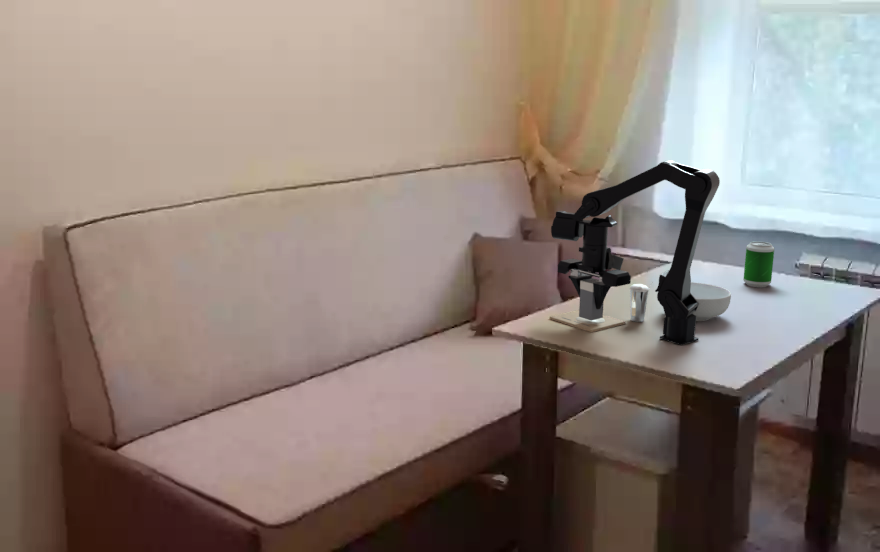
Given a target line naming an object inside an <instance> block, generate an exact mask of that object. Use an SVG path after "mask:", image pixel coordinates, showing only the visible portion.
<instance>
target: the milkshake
mask: <svg viewBox="0 0 880 552" xmlns="http://www.w3.org/2000/svg"><path fill="white" fill-rule="evenodd" d="M653 282H654V281H651V284H650V286H649V287H648V286H647V285H646V284H643V283H633V284H632V285H630V287H629V302H630V304H629V305H630V306H629V307H630V317H629V318H630V321H632V322H635V323H641V322H642V323H643V322H644V321H645V317H646V309H647V304H648V303H647V302H648V297H649V290H650V288H651V286H652V284H653Z"/></svg>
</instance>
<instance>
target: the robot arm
mask: <svg viewBox="0 0 880 552" xmlns="http://www.w3.org/2000/svg"><path fill="white" fill-rule="evenodd" d="M663 181H667V182H669V183H671V184H673V185H675V186H676V187H679V188H680V189H684V202H685V212H684V215H683V220H682V224H681V227H680V231H679V235H678V238H677V243H676V246H675V250H674V254H673V258H672V261H671V266H670V268H669V269H667V270H666V271H664V272H662V273H660V274H659V277H658V285H657V288H656V289H655V290H654V292H656V293H657V295H656V298H657V301H658V303H659V304H660V305H661V306H662V308H663V312H664V315H665V317H664V318H663V329H662V335H660V336H659V339H661V340H662V341H663V340H664V341H667V342H670V343H673V344H677V345H682V346H683V345H686V344H690V343H693V342H697V341H699V337H697V336H695V335H696V326H697V325H696V323H697V321H696V315H694V314H693V312H695V311H696V310H697V308H698V306H699V302H698V301H697V300H696V299H695V298H694V297H693V295H692V294H691V293H690V288H691V282H692V278H691V267H692V263H693V260H694V256H695V252H696V249H697V245H698V241H699V238H700V237H699V236H700V233H701V231H702V226H703V222H704V218H705V216H706V215H705V214H706V212H707V209H708V207H709V206H710V204H711V203H712V201H713V199H714V197H715V195H716V193H717V191H718V189H719V187H720V184H721V183H720V182H721V181H720V177H719V176H718V174H717V172H715V170H712V169H710V168H704V169H703V168H702V169H699V168H696V167H694V166H693V167H692V166H689V165H686V164H681V163H679V162H676V161H674V160H671V159H669V160H665V161H661V162H660V163H659V164H657V165H655V166H654V167H652V168H649V169H647V170H645V171H643V172H641V173H639V174H636V175H635V176H632V177H631V178H629V179H627V180H625V181H622V182H620V183H618V184H616V185H611V186H607V187H604V188H599V189H596V190H594V191H591V192H587V193H586V194H585V195H583V197H582V200H581V205H580V206H579V208H578V209H576V211H575V212H569V211H564V210H558V211H556V212H555V217H554V219H553V221H552V225H551V227H550V232H551V238H552V239H555V240H556V239H557V240H562V241H563V240H564V241H570V242H577V241H579V239H580V238H582V246H579V247H578V252H579V253H581V259H578V258H577V259H576V258H569V259H568V258H567V259H564V260H560V261H559V262H558V264H557V273H559V274H563V275H567V274H568V273H569V272H570V275H568V276H567V277H568V279H569V280H570V281H571V283H572V284H573V286H574V288H575V290H576V293H577V295H578V297H579V298H580V281H581V280H586V279H591V278H593V277H595V278H599V279H598V280H599V282H596V283H593V288H594V297H595V305H596V309H600V308H601V306H602V304H603V305H604V303H603V301H605V299H606V296H607V294H608V292H609V290H610V289H611V288H613V287H614V288H617V287H623V286H626V285H630V284H631V281H632V276H631V274H630V272H629V271H627V270H622V265H623V262H624V258H623V257H621V256H618V255H615V254H612V249H611V247H609V246H608V236H609V235H608V234H609V233H608V232H609V228H613V227H616V226H617V225H618V222H617V221H616V220H615V219H614V218H613V217H612V215H610V214H609V215H608V216H606V217H605V218H604V217H598V216H601V215H604V214H606V213H608V212H610V211H611V210H612V209H614V208H615V207H617V206H618V205H619V204H620V203H621V202H623V201H624V200H626V199H627V198H629V197H632V196H633V195H635V194H637V193H638V194H639V193H640V192H642V191H644V190H646V189H648V188H651V187H653V186H655V185H658V184H659V183H661V182H663ZM590 217H592V219H591V220H590V219H589V220H588V219H587V218H590Z"/></svg>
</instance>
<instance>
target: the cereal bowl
mask: <svg viewBox="0 0 880 552" xmlns="http://www.w3.org/2000/svg"><path fill="white" fill-rule="evenodd" d="M690 293H691V294H692V295H693V297H694V298H695V299H696V300H697V301H698V302H699V306H698V308H697V310H696V311H695V312H693V314H694V315H696V322H704V321H709V320H710V319H712V318H716V317H718V316H722V315H723V314H724V313H725V312H726V311H727V310H728V308H729V307H730V304H731V298H732V293H731V291H730V290H729V289H727V288H724V287H722V286H717V285H713V284H707V283H702V282H694V281H693V282H692V281H691V288H690Z"/></svg>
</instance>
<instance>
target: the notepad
mask: <svg viewBox="0 0 880 552" xmlns="http://www.w3.org/2000/svg"><path fill="white" fill-rule="evenodd" d="M549 319H550V320H552V321H555V322H558V323H562V324H564V325H568V326H571V327H573V328H576V329H579V330H583V331H585V332H589V333H595V332H598V331H601V330H602V331H603V330H606V329H610V328H611V329H612V328H614V327H618V326H621V325H622V326H623V325H626V321H625V320H622V319H619V318H615V317H612V316H609V315H605V314H603V318H600V319H596V320H588V319H585V318H581V317H579V309H577V310H571V311H568V312H564V313H559V314H555V315H550V316H549Z"/></svg>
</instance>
